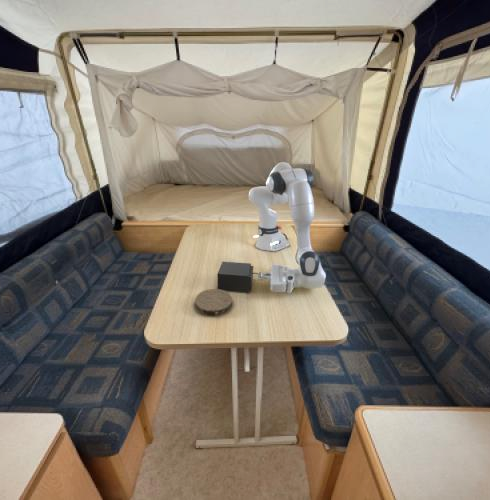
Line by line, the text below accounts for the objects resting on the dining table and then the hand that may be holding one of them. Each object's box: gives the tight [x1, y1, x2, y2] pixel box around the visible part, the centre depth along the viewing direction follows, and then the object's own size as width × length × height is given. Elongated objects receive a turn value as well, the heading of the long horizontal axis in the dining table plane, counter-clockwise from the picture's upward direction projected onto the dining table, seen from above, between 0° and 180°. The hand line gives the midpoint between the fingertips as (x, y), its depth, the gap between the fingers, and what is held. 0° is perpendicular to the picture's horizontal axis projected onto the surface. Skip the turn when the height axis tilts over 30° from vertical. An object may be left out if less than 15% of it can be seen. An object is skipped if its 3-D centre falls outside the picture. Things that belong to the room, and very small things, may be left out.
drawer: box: [248, 265, 262, 292], centre depth 129 cm, size 18×11×7 cm, turn 82°
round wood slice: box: [194, 288, 233, 317], centre depth 116 cm, size 16×16×3 cm
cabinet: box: [216, 261, 252, 294], centre depth 130 cm, size 15×13×9 cm
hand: (260, 276), depth 128 cm, fingers closed, pressing on drawer
